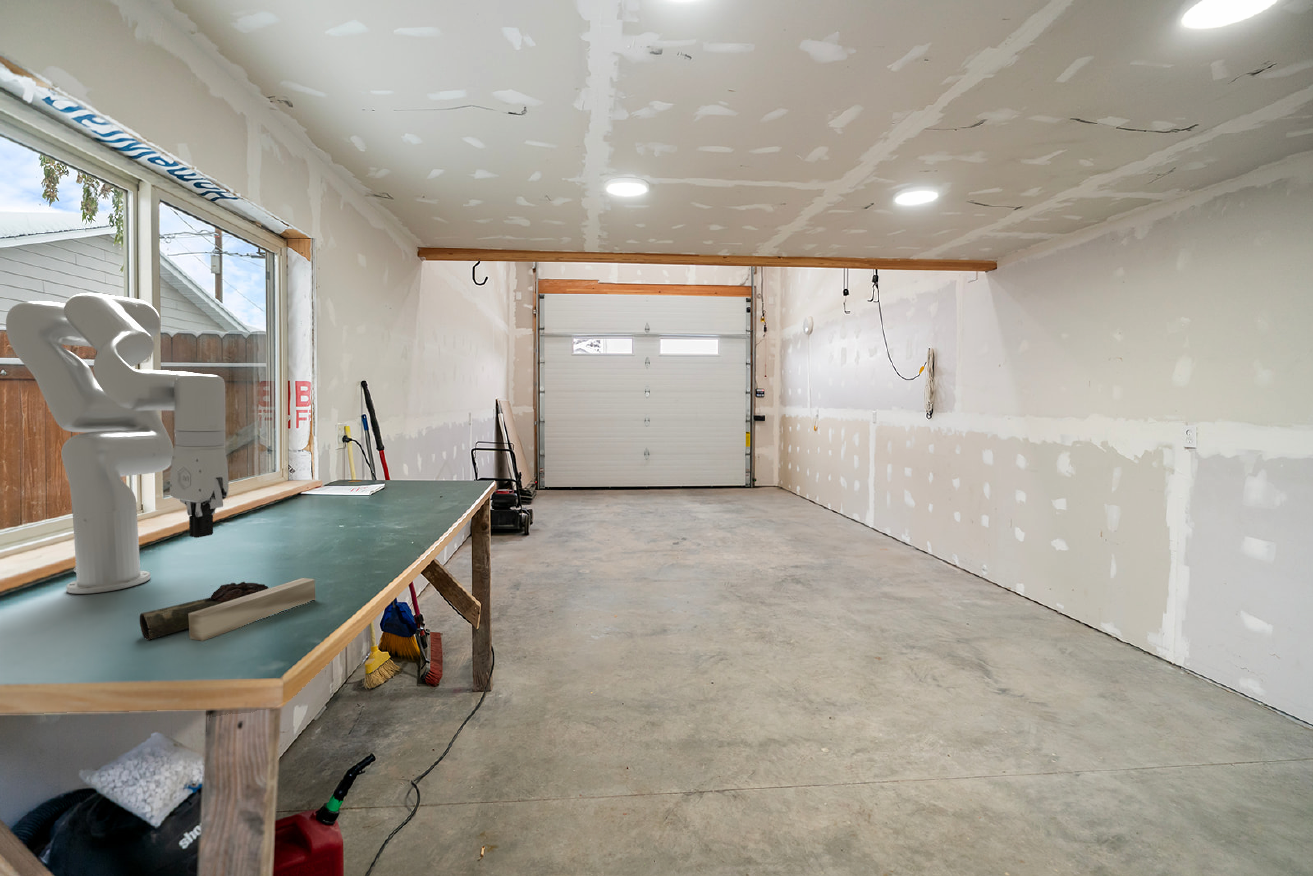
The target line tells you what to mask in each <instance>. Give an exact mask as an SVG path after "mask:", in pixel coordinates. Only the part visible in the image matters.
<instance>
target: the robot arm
mask: <svg viewBox="0 0 1313 876" xmlns="http://www.w3.org/2000/svg"><path fill="white" fill-rule="evenodd" d="M5 318H6V319H5V328H6V329H5V331H6V335H7V339H8V342H9V345H10V347H11V348H12V351H14V353H15V355H16V356H17V357H18V358H19V360H20V361H21V362H22V364H24V366H25V367H26V368H27V370H28V371H29V372H30V373H31V375H32V376H33V378H34V380H35V381H36V382H37V385H38V388H39V390H40V392H41V394H42V397H43V398H44V400H45V403H46V404H47V408H48V409H49V411H50V413H51V415H52V417H53V419H54V421H55V423H56V424H57V425H58V426H59V427H60V428H61V429H62V430H64V431H67V432H71V433H72V432H73V433H79V434H75V435H73V436H71V437H69V438H68V439H67V440H66V441H65V442H64V444H63V445H62V448H61V452H60V453H61V460H62V464H63V466H64V470H65V472H66V477H67V480H68V484H69V490H70V497H71V499H70V500H71V510H72V511H71V512H72V522H73V523H72V524H73V539H74V540H73V543H74V556H75V557H74V558H75V559H74V560H75V567H74V568H73V573H74V572H75V573H76V574H75V575H76V580H73V581H71V582H69V583H68V584H66V586H65V587H66V592H67V593H69V594H74V595H75V594H77V595H82V594H83V595H85V594H96V593H98V594H99V593H105V592H112V591H117V590H122V589H126V588H131V587H134V586H138V585H142V584H143V583H146V582H147V581H149V580H150V579H151V573H150V572H149V571H146V570H141V563H140V559H141V558H140V544H139V543H140V541H139V525H138V512H137V511H138V508H137V499H136V496H135V493H134V491H133V490H132V489H131V488H130V486H128V485H127V484H126V483H125V482H124V481H123V479H122V477H129V476H137V475H139V476H140V475H149V474H154V473H155V474H156V473H159V472H163V471H165V470H167V469H169V468H170V472H169V474H170V475H169V495H170V496H171V497H172V498H173V499H176V500H179V501H180V503H182V504H183V505H185V507H186V512H187V514H186V515H188V516H189V517H188V520H189V521H188V522H189V523H188V524H189V526H188V527H189V530H188V531H189V537H192V538H195V539H198V538H202V537H207V536H212V535H213V534H214V515H215V514H216V510H217V509H218V508H223V507H224V501H223V500H225V499H226V498H228V496H229V487H230V486H229V485H230V484H229V481H230V480H229V468H228V459H227V454H226V453H227V452H226V383H225V380H224V378H223V377H222V376H219V375H216V374H205V373H204V374H203V373H195V372H190V371H189V372H188V371H174V370H172V371H171V370H157V369H135V368H133V367H134V366H137V365H139V364H141V363H143V362H145V361H146V360H147V359H149V357H150V356H151V355H152V353H153V352H154V349H155V341H154V338H155V337H156V336H157V335H158V334H159V332H160V330H161V325H162V324H161V318H160V315H159V313H158V311H157V310H156V309H155V307H153V306H152V305H151V304H150V303H148V302H146V301H144V300H142V299H137V298H130V297H124V296H118V295H117V296H115V295H109V294H104V293H93V292H87V293H79V294H78V293H77V294H76V295H73V296H71V297H69V299H67V300H66V302H65V303H60V302H56V301H55V302H53V301H41V300H38V301H36V300H35V301H33V300H32V301H24V302H20V303H17V304H15V305H14V306H12V307H11V308H10V309H9V311H8V312H7V315H6V317H5ZM64 345H65V346H75V347H90V348H93V349H95V351H96V352H97V353H96V355H95V357H94V360H93V370H92V369H91V367H90V366H89V365H88V364H87V363H86V362H85V361H84V360H83V359H82V358H80V357H79V356H77V355H76V354H75V353H73V352H71V350H68V349H66V348H65V347H64ZM158 411H168V412H170V411H173V412H174V414H173V415H174V444H173V442H172V440H171V438H170V435H169V433H168V431H167V429H166V427H165V425H164V422H163V421H162V419H161V417H160V415H159V413H158Z"/></svg>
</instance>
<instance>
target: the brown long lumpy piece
mask: <svg viewBox="0 0 1313 876" xmlns="http://www.w3.org/2000/svg"><path fill="white" fill-rule="evenodd" d="M269 588H270V587H269V586H268V585H266V584H264V583H257V582H245V581H241V582H239V583H235V582H231V583H227V584H226V583H225V584H220V586H219V588H217V589H216V590H215V591H213V593H211V595H210V597H207V598H203V599H198V600H193V601H188V602H185V603H180V604H176V605H173V606H167V607H163V608H157V609H153V610H150V611H144V612H140V614H139V626H140V631H141V634H142V637H143V638H144V639H145V638H146V639H148V641H151V640H150V639H152V640H154V639H153V638H155V639H157V638H156V637H158V638H160V637H159V636H161V637H163V636H164V635H165V636H167V634H168V635H171V634H174V633H178V632H181V631H183V630H187V629H189V616H188V614H189V613H192V612H195V611H199V610H202V609H205V608H208V607H211V606H215V605H218V604H221V603H224V602H227V601H231V600H234V599H237V598H240V597H243V596H247V595H250V594H253V593H256V592H259V591H263V590H266V589H269ZM170 633H171V634H170ZM146 639H145V640H146Z"/></svg>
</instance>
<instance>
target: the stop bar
mask: <svg viewBox="0 0 1313 876" xmlns="http://www.w3.org/2000/svg"><path fill="white" fill-rule="evenodd" d="M315 580H316V579H314V578H307V577H302V578H299V579H295V580H292V581H289V582H286V583H282V584H280V585H275V586H273V587H268V588H269V589H266V590H263V591H259V592H256V593H253V594H250V595H247V596H243V597H240V598H237V599H234V600H231V601H227V602H224V603H221V604H218V605H215V606H211V607H208V608H205V609H202V610H199V611H195V612H192V613H189V614H188V616H189V628H188V629H189V630H188V631H189V639H190V640H196V641H201V642H203V641H207V640H209V639H212V638H214V637H215V638H216V637H218V636H221V635H223V634H225V633H228V632H231V631H234V630H237V629H240V628H243V627H245V626H247V625H246V624H248V623H251V624H253V623H252V622H254V621H256V620H258V619H261V618H265V617H268V616H270V615H272V614H276V613H279V612H281V611H283V610H285V609H290V608H292V607H295V606H297V605H301V604H304V605H306V604H308V603H307V602H309V601H311V600H315V601H316V581H315ZM305 603H306V604H305ZM309 603H310V602H309ZM301 606H302V605H301ZM295 608H296V607H295ZM290 610H291V609H290ZM281 613H282V612H281ZM279 614H280V613H279ZM276 615H277V614H276ZM270 617H271V616H270ZM268 618H269V617H268ZM265 619H266V618H265ZM254 623H255V622H254ZM244 625H245V626H244ZM248 625H249V624H248ZM242 626H243V627H242ZM239 627H240V628H239Z"/></svg>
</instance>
